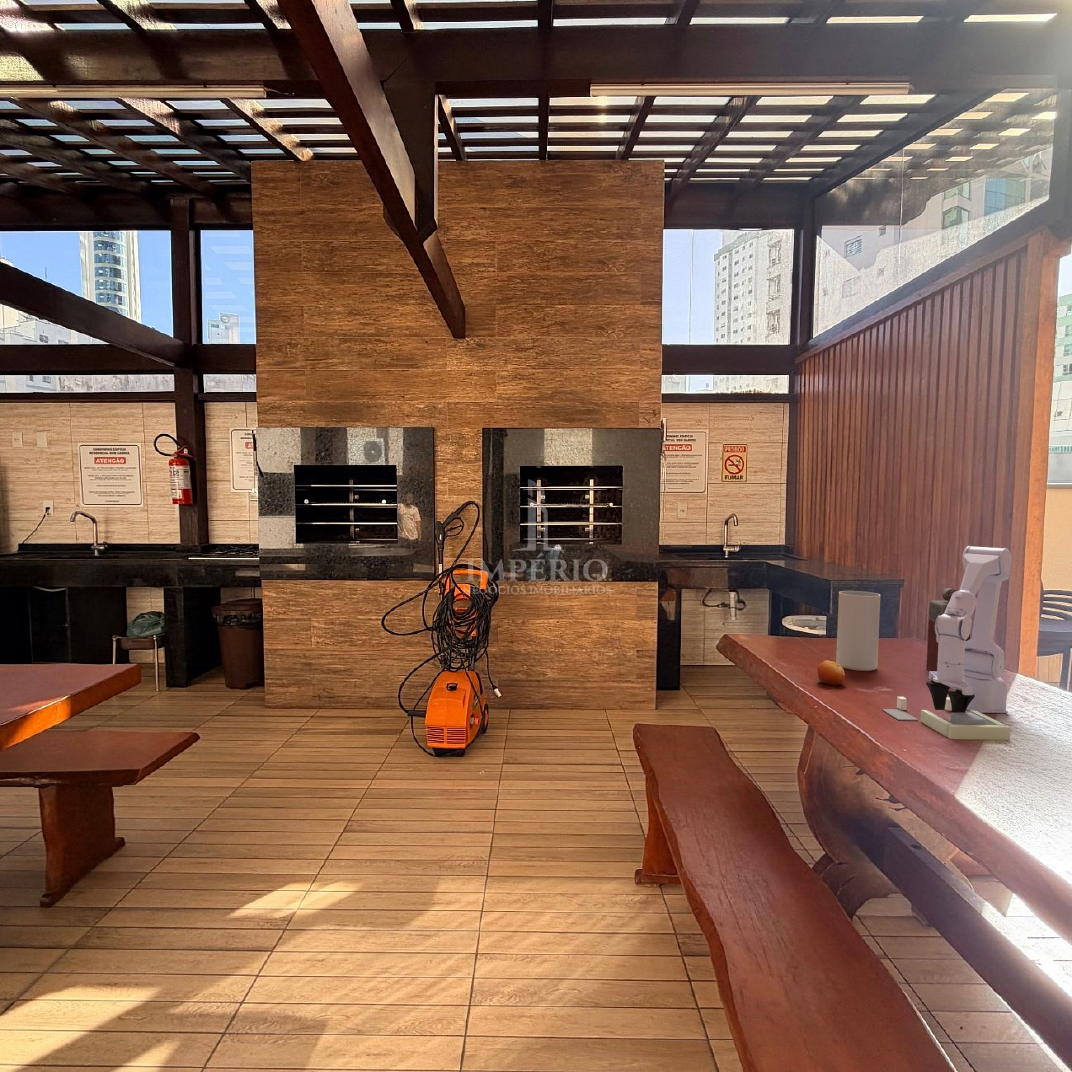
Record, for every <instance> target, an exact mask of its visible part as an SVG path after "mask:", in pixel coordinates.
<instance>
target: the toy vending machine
mask: <svg viewBox="0 0 1072 1072" xmlns="http://www.w3.org/2000/svg"><path fill="white" fill-rule="evenodd" d="M956 591H958V590H957V589H955V588H951V587H947V588H945V589H944V590H943V591H942V594H941V596H942V599H944V600H934V599H933V600H930V601H929V603H928V605H929V606H928V607H929V608H928V621H927V622H928V625H927V626H928V628H927V629H928V630H927V643H926V644H927V647H926V666H925V668H926V670H927V671H928V672H929V671H937V665H938V644H939V643H938V642H937V640H936V632H935V623H936V619H937V617H938V616H940V615H942V614H944V612H945V610H946V608H947V605H948V603H949V601H950V599H951V596H952V594H953V593H954V592H956ZM970 639H971V634H970V635H969V637H968V638H967V639H966V641H968V640H970Z"/></svg>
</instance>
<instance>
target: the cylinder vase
mask: <svg viewBox="0 0 1072 1072" xmlns="http://www.w3.org/2000/svg"><path fill="white" fill-rule="evenodd" d="M837 608H838V610H837V611H838V612H837V633H836V634H837V635H836V654H835V655H836V656H835V657H836V658H835V659H836V660H835V662H836V663H837V664H839V665H840V666H841V667H842V668H843V669H846V670H852V671H857V672H858V671H860V672H872V671H875V670H877V668H878V659H879V642H880V641H879V636H880V635H879V634H880V616H881V615H880V614H881V613H880V612H881V594H880V593H876V592H870V591H862V590H860V591H858V590H841V591H839V592H838V607H837Z"/></svg>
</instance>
